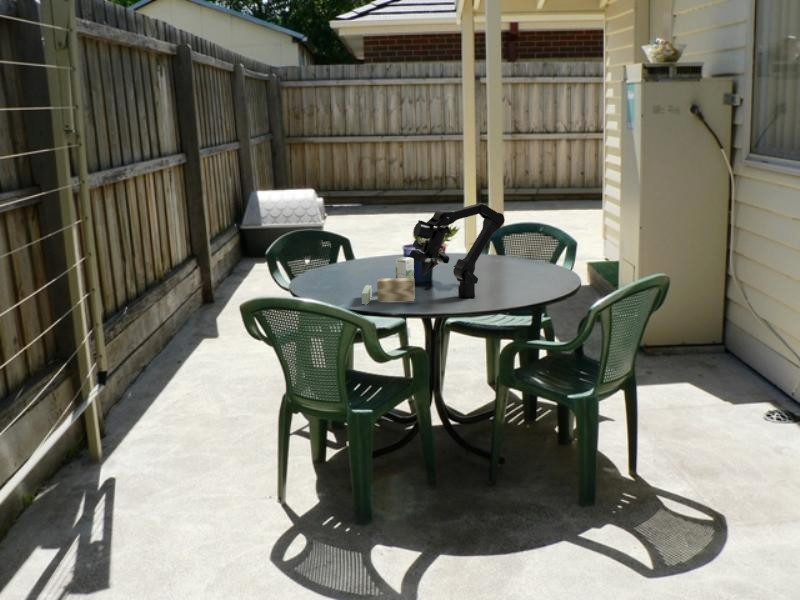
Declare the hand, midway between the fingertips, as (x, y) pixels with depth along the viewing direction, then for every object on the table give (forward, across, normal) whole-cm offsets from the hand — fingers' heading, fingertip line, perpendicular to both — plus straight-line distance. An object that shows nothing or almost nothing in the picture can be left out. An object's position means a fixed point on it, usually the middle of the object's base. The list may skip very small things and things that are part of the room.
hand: (422, 275), depth 359 cm
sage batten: (+18, +14, -12) cm, 26 cm away
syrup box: (+14, -10, -14) cm, 23 cm away
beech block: (+14, +6, -4) cm, 15 cm away
